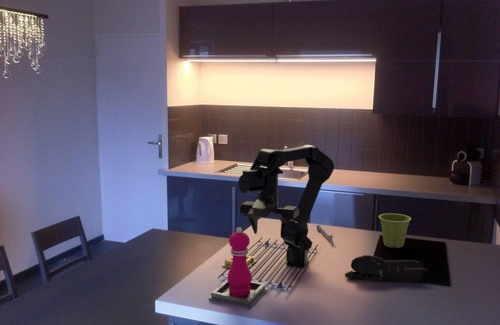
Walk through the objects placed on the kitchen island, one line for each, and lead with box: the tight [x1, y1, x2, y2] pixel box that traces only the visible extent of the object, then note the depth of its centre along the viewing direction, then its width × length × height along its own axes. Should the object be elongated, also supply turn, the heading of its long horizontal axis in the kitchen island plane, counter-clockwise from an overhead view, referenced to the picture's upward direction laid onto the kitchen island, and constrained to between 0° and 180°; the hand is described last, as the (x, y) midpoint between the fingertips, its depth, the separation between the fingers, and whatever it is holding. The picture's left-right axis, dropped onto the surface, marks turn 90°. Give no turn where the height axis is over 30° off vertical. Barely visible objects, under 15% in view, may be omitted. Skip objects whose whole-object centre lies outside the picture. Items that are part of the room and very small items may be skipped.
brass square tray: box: [221, 255, 258, 269], centre depth 155 cm, size 9×9×2 cm
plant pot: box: [378, 213, 412, 249], centre depth 173 cm, size 12×12×11 cm
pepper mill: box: [226, 226, 253, 297], centre depth 131 cm, size 7×7×20 cm
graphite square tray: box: [208, 279, 269, 310], centre depth 132 cm, size 13×13×2 cm
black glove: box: [344, 254, 428, 283], centre depth 143 cm, size 7×25×8 cm, turn 92°
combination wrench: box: [316, 224, 334, 245], centre depth 184 cm, size 4×1×20 cm
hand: (268, 235), depth 146 cm, fingers open, 9 cm apart
